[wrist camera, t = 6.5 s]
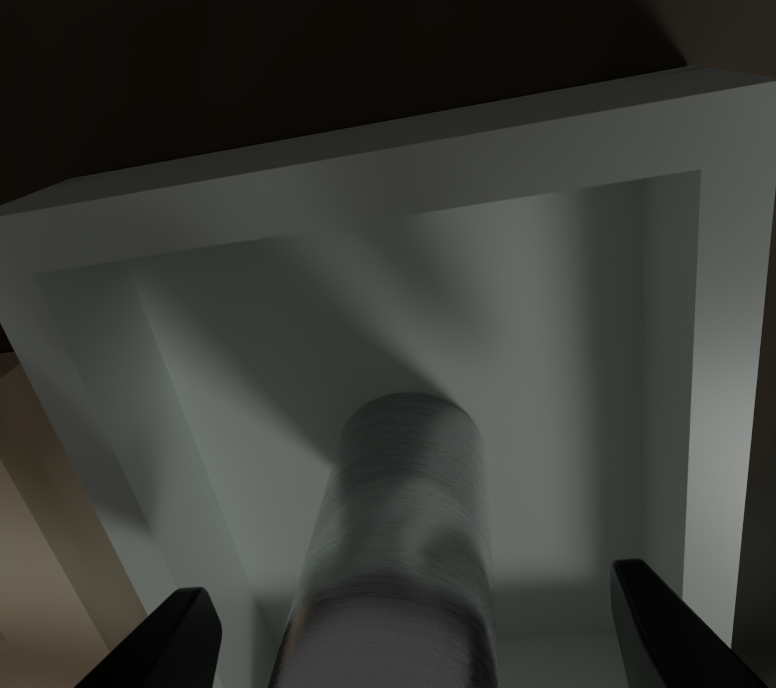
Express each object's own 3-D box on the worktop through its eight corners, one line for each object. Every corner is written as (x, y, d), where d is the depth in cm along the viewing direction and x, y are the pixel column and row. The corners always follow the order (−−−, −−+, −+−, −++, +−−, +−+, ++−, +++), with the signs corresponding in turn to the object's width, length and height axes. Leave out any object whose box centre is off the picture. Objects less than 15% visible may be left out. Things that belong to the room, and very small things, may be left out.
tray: (671, 629, 14) (719, 758, 12) (259, 649, 16) (223, 765, 13) (690, 65, 9) (785, 79, 6) (69, 178, 10) (-50, 224, 8)
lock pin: (520, 524, 12) (605, 1212, 5) (336, 535, 13) (184, 1160, 6) (503, 357, 10) (592, 1035, 3) (292, 379, 11) (3, 990, 4)
